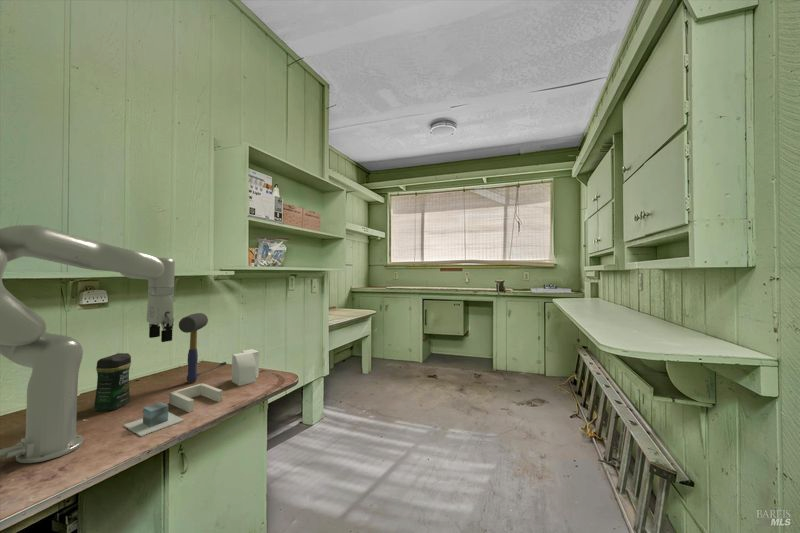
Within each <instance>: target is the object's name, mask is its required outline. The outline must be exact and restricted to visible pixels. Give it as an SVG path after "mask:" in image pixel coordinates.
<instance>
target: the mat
mask: <svg viewBox="0 0 800 533" xmlns="http://www.w3.org/2000/svg"><path fill="white" fill-rule="evenodd" d="M184 421H185V419H184V418H181V417H180V416H177V415H176V414H174V413H172V412H169V411H168V421H166V422H163V423H160V424H158V425H155V426H152V427H149V426H147V425H146V424H144V423H143V417H142V418H139V419H137V420H134V421H131V422H128V423H124V424H123V427H124V428H126V429H127V428H128V429H127V430H129V431H131V432H133V434H135V433H136V435H137V436H139V437H140V436H141V437H145V436H147V435H146V434H148V435H150V434H152V433H151V432H153V433H155V432H154V431H156V432H158V431H161V430H163V428H164V429H166V428H169V427H171V426H174V425H177V424H180V423H182V422H184ZM168 426H169V427H168ZM160 429H161V430H160ZM157 430H158V431H157ZM149 433H150V434H149ZM144 435H145V436H144ZM141 437H140V438H141Z"/></svg>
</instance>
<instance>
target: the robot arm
mask: <svg viewBox="0 0 800 533" xmlns="http://www.w3.org/2000/svg"><path fill="white" fill-rule="evenodd" d="M22 257H27V258H28V257H29V258H34V259H35V258H36V259H38V260H39V259H40V260H43V261H49V262H53V263H57V264H61V265H62V264H63V265H67V266H70V267H75V268H78V269H79V268H80V269H86V270H91V271H101V272H102V271H103V272H105V271H106V272H114V273H119V274H120V275H122V276H123V277H125V278H128V279H134V280H136V279H137V280H147V281H148V283H147V284H148V286H147V287H148V289H147V290H148V291H147V292H148V293H147V297H148V300H147V307H146V310H147V311H146V322H147V323H148V326H149V328H148V329H149V330H148V338H150V339H152V338H153V339H154V338H157V337H158V338H159V337H161V338H160V339H161V340H160V342H161V343H166V342H172V341H173V330H174V322H175V318H174V300H173V299H174V298H173V296H175V275H176V274H175V271H176V270H175V268H176V267H175V266H176V263H175V260H174V259H173V258H170V257H156V256H153V255H149V254H146V253H143V252H139V251H135V250H132V249H128V248H125V247H118V246H116V245H112V244H107V243H103V242H99V241H95V240H92V239H88V238H85V237H81V236H77V235H75V234H70V233H68V232H64V231H61V230H58V229H54V228H51V227H47V226H42V225H39V224H22V225H21V224H19V225H17V224H16V225H11V226H7V227H3V228H0V355H1V356H3V357H5V358H6V359H7V360H9V361H11V362H13V363H15V364H17V365H19V366H21V367H26V368H31V369H32V370H31V375H30V378H29V380H28V383H27V386H26V408H25V409H26V413H25V437H23V438H21V439H20V440H21V441H20V442H18V443H16V444H15V445H13V446H9V447H5V448H2V449H0V459H1V458H5V457H6V459H10V458H13V457H15V461H16V462H18V463H21V464H33V463H41V462H45V461H46V462H47V461H49V460H53V459H56V458H58V457H63V456H65V455H67V454H69V453H71V452H73V451H75V450H76V449H78V448H79V447H81V446H82V445H83V443H84V437H83V435H81V434H78V433H77V418H78V416H77V415H78V412H77V411H78V388H79V387H78V386H79V385H78V384H79V382H78V381H79V372H80V367H81V365H82V364H81V363H82V359H83V355H84V354H83V353H84V350H83V346H82V344H81V343H80V342H79V341H78V340H77V339H75V338H73V337H71V336H68V335H63V334H56V333H49V332H47V323H46V321H45V320H44V318H43V317H42V316H41V315H40V314H39V313H38V312H36V311H34V310H32V309H31V308H30V307H28V306H27V305H26V304H24V302H22V301H21V300H19V299H18V298H17V297H15V296H14V295H13V294H12V293H11V292H10V291H9V290H8V289H7V288H6V287H5V285H4V283H3V276H4V272H5V270H6V268H7V267H8V266H7V265H8V263H10V262H11V261H14V260H16V259H19V258H22ZM161 329H162V330H161Z"/></svg>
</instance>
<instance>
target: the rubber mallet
mask: <svg viewBox="0 0 800 533" xmlns="http://www.w3.org/2000/svg"><path fill="white" fill-rule="evenodd" d="M208 322H209V319H208V316H207V315H206V314H205V313H202V312H197V313H191V314H188V315H187V316H183V317H182V318H181V319H180V320H179V322H178V328H179V330H180V331H181V332H183V333H186V334H187V333H190V336H189V350H188V353H187V375H186V381H187V382H188V383H190V384H191V383H195V382H197V380H198V376H197V372H198V371H197V365H198V362H199V361H198V359H199V358H198V357H199V355H198V354H199V353H198V349H197V348H198V347H197V346H198V345H197V344H198V340H197V339H198V331H199V330H201V329H203V328H204V327H206V326H207V325H208Z"/></svg>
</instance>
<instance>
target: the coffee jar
mask: <svg viewBox="0 0 800 533" xmlns="http://www.w3.org/2000/svg"><path fill="white" fill-rule="evenodd" d="M131 365H132V356H131V354H130V353H126V352H125V353H123V352H117V353H115V354H111V355H110V356H106V357H102V358H100V359H98V360H97V361H96V367H95V368H96V369H95V370H96V373H97V374H96V376H97V378H96V379H97V382H96V389H95V390H96V391H95V398H94V404H93V405H94V406H93V409H94V410H95V411H99V412H106V411H112V410H113V411H114V410H117V409H118V408H120V407H123V406H124V405H126V404H127V403H129V402H130V399H131V398H130V397H131V395H130V393H131V392H130V369H131Z"/></svg>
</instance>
